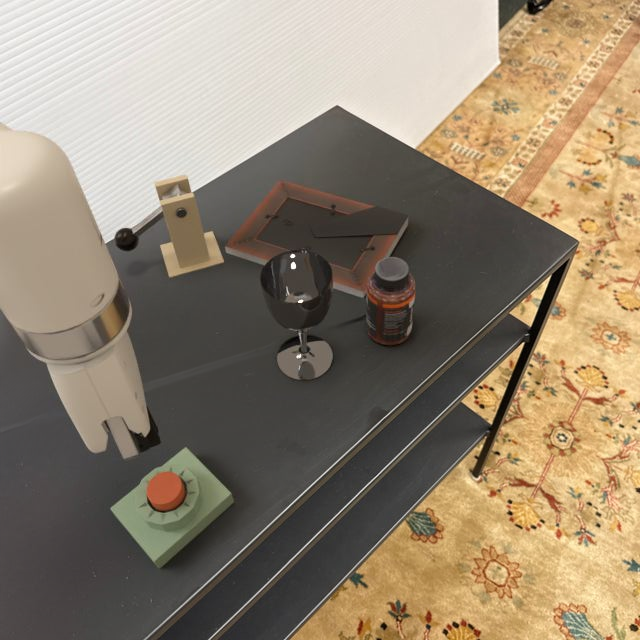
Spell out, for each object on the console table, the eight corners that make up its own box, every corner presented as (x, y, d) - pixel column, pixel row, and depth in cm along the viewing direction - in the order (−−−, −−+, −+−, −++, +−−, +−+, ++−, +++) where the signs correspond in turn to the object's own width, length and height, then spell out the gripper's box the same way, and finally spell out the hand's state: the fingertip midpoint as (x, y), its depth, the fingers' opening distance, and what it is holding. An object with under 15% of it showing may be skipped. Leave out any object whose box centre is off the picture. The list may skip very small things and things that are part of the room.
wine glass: (277, 387, 79) (263, 307, 67) (270, 337, 84) (256, 255, 73) (341, 377, 80) (338, 296, 68) (330, 328, 85) (326, 245, 73)
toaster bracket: (171, 282, 91) (148, 213, 81) (161, 250, 96) (139, 181, 86) (225, 267, 93) (209, 197, 83) (214, 236, 97) (197, 166, 87)
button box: (159, 569, 65) (149, 555, 62) (115, 516, 69) (104, 500, 66) (234, 502, 70) (229, 485, 67) (189, 455, 74) (182, 438, 70)
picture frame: (407, 227, 96) (281, 191, 103) (408, 214, 94) (279, 178, 101) (362, 303, 87) (227, 257, 94) (363, 290, 85) (224, 245, 92)
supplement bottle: (421, 333, 83) (428, 272, 75) (384, 355, 81) (388, 294, 73) (392, 305, 87) (396, 243, 78) (356, 325, 85) (356, 264, 76)
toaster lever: (128, 259, 88) (110, 247, 86) (124, 244, 90) (107, 232, 88) (195, 207, 86) (179, 193, 83) (190, 193, 88) (174, 179, 85)
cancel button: (164, 518, 65) (159, 511, 64) (143, 495, 67) (139, 487, 65) (192, 494, 67) (188, 487, 65) (171, 472, 68) (167, 464, 67)
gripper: (10, 253, 48) (91, 391, 62) (20, 413, 39) (112, 532, 53) (111, 226, 49) (167, 367, 63) (143, 374, 40) (201, 501, 54)
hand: (142, 442), depth 58 cm, fingers closed
